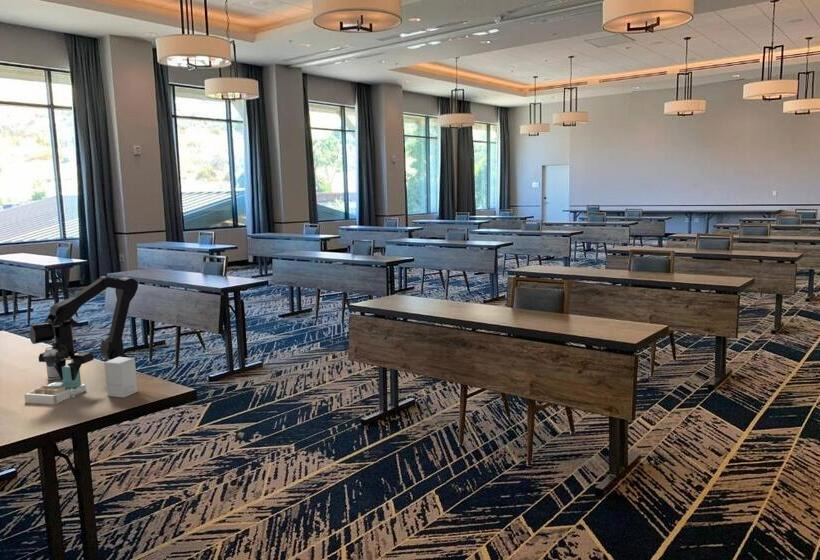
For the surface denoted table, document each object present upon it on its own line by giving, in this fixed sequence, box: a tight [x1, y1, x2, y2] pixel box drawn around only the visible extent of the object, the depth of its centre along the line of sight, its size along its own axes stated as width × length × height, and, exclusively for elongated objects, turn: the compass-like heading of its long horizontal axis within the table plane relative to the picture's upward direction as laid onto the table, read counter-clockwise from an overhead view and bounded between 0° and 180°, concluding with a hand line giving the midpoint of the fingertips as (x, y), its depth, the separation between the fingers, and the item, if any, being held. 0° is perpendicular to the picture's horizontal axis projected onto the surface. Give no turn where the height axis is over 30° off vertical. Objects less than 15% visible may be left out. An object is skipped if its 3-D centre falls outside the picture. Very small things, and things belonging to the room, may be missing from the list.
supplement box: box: [103, 357, 139, 398], centre depth 226 cm, size 7×7×13 cm
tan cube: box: [33, 385, 53, 395], centre depth 223 cm, size 4×4×4 cm
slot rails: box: [46, 382, 87, 398], centre depth 229 cm, size 13×8×2 cm, turn 78°
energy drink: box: [44, 346, 61, 381], centre depth 246 cm, size 5×5×12 cm
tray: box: [23, 389, 71, 405], centre depth 222 cm, size 12×7×3 cm, turn 78°
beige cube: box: [47, 386, 65, 395], centre depth 222 cm, size 4×4×4 cm
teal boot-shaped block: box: [50, 364, 82, 391], centre depth 231 cm, size 8×9×9 cm
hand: (68, 379), depth 231 cm, fingers open, 4 cm apart
